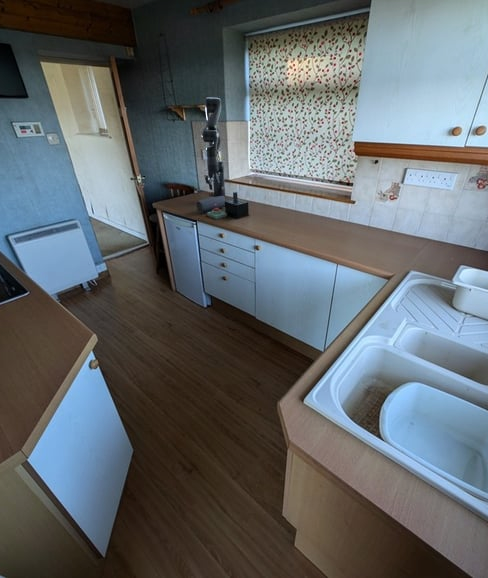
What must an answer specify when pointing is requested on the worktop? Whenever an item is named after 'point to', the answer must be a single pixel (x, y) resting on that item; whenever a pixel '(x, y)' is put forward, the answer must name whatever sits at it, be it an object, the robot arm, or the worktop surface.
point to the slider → (235, 195)
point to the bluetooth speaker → (211, 204)
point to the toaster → (236, 208)
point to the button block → (216, 214)
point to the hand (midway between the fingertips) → (214, 189)
